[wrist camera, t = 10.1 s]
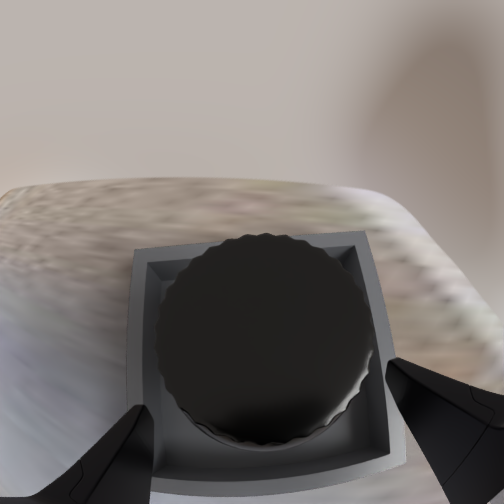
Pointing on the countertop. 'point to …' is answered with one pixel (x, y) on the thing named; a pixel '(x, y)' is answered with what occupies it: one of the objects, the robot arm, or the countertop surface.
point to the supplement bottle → (264, 341)
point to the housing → (249, 462)
